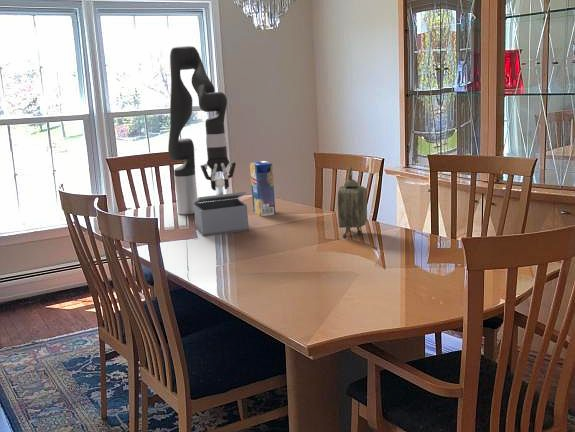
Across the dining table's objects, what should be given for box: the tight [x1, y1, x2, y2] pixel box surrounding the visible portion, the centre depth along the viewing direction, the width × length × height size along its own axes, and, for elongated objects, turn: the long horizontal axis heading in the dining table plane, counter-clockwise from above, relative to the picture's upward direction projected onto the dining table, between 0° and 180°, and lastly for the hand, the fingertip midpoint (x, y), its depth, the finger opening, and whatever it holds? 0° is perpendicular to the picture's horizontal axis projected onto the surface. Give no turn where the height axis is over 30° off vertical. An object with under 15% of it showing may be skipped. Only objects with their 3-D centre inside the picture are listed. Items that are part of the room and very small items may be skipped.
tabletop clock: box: [337, 166, 368, 239], centre depth 235 cm, size 14×9×25 cm, turn 168°
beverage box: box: [249, 160, 276, 217], centre depth 281 cm, size 7×11×22 cm, turn 18°
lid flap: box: [193, 177, 247, 203], centre depth 257 cm, size 16×18×8 cm
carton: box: [194, 198, 250, 237], centre depth 258 cm, size 16×18×10 cm
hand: (220, 189), depth 252 cm, fingers closed on lid flap, 4 cm apart
